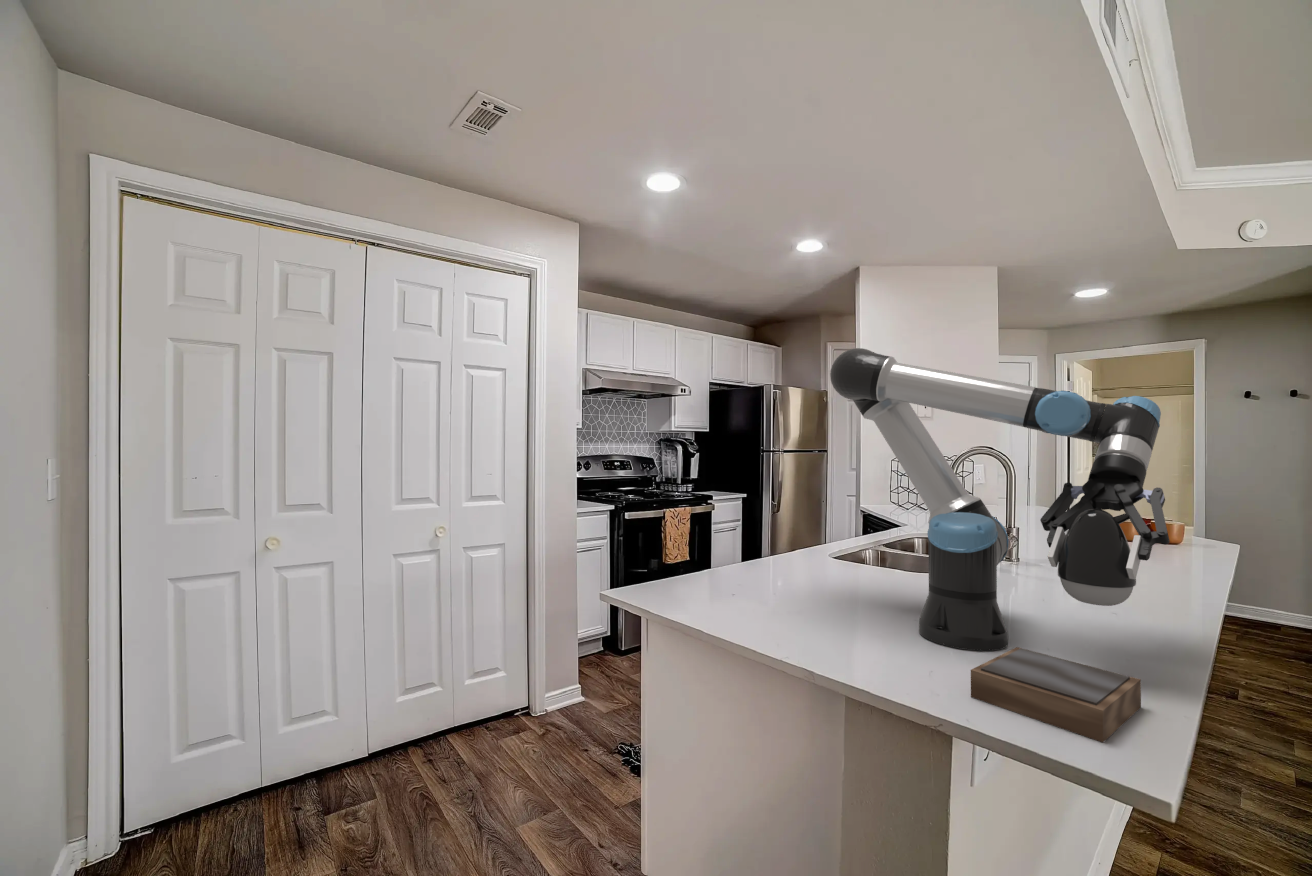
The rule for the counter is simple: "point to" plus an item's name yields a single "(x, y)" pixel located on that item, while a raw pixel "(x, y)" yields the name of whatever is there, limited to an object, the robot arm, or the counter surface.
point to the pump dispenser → (1096, 559)
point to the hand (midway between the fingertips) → (1089, 567)
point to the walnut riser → (1058, 692)
